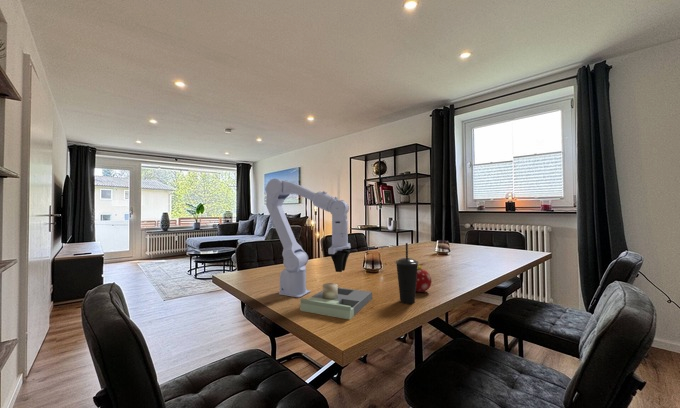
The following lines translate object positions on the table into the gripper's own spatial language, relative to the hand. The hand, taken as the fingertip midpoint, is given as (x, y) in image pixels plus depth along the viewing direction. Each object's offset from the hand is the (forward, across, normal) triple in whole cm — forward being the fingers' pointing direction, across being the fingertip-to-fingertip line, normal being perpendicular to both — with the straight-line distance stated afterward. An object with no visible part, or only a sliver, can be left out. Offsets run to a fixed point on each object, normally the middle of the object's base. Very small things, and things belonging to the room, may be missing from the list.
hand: (340, 271), depth 101 cm
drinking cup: (+10, +5, -23) cm, 25 cm away
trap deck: (+9, -7, -2) cm, 12 cm away
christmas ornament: (+10, +18, -25) cm, 32 cm away
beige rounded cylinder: (+7, -8, 0) cm, 11 cm away
